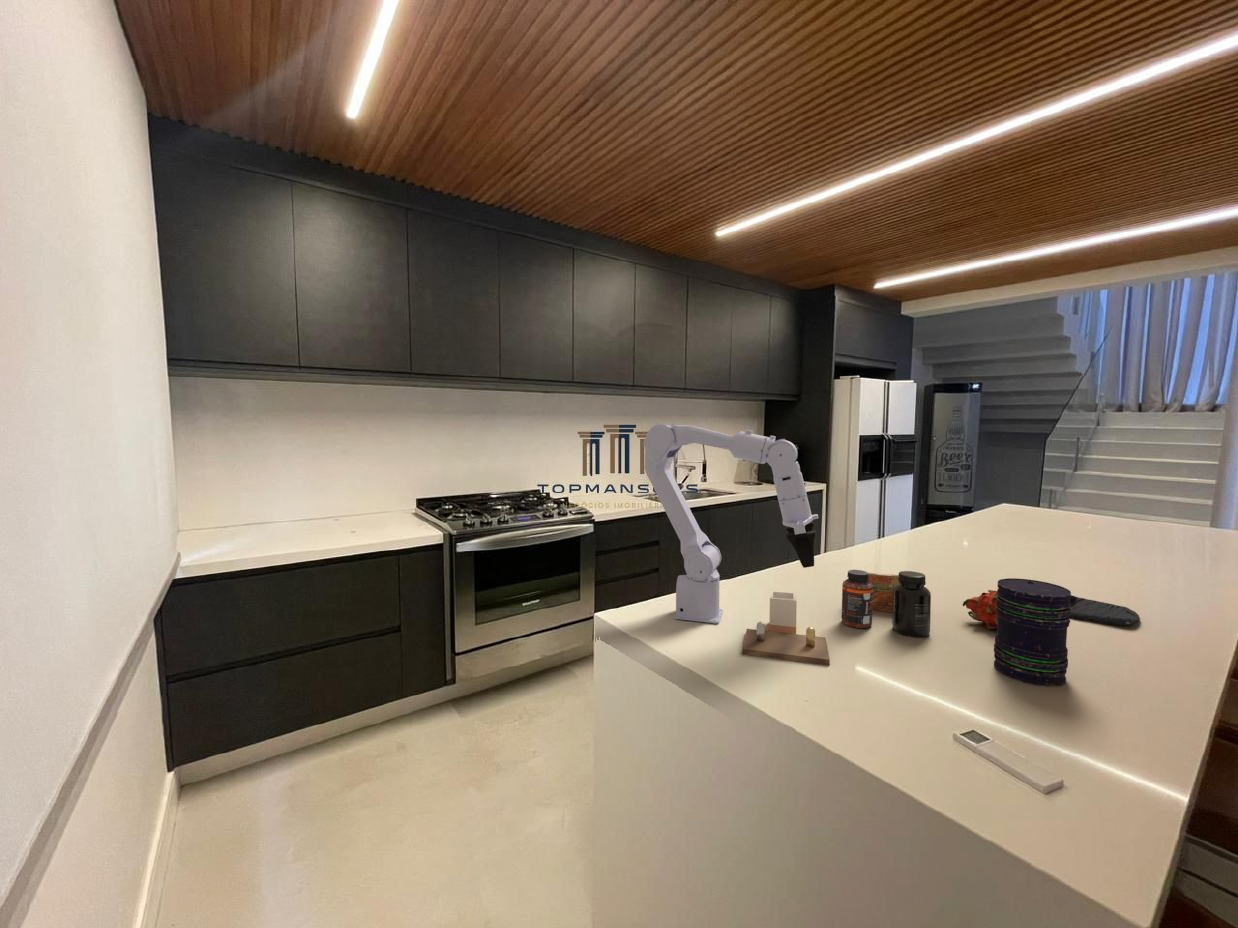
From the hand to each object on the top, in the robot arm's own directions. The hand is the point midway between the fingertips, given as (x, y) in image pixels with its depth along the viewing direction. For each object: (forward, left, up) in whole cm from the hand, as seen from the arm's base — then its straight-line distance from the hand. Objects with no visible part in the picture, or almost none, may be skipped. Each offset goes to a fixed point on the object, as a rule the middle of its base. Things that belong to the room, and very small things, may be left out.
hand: (807, 562), depth 105 cm
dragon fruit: (+37, +13, -15) cm, 42 cm away
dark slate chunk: (+57, +30, -15) cm, 66 cm away
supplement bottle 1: (+10, +7, -15) cm, 19 cm away
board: (-4, -10, -14) cm, 18 cm away
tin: (+17, +18, -15) cm, 29 cm away
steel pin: (-9, -10, -13) cm, 19 cm away
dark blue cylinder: (+35, -8, -15) cm, 39 cm away
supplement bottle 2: (+20, +6, -15) cm, 26 cm away
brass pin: (0, -10, -13) cm, 17 cm away
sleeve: (-5, 0, -14) cm, 15 cm away
